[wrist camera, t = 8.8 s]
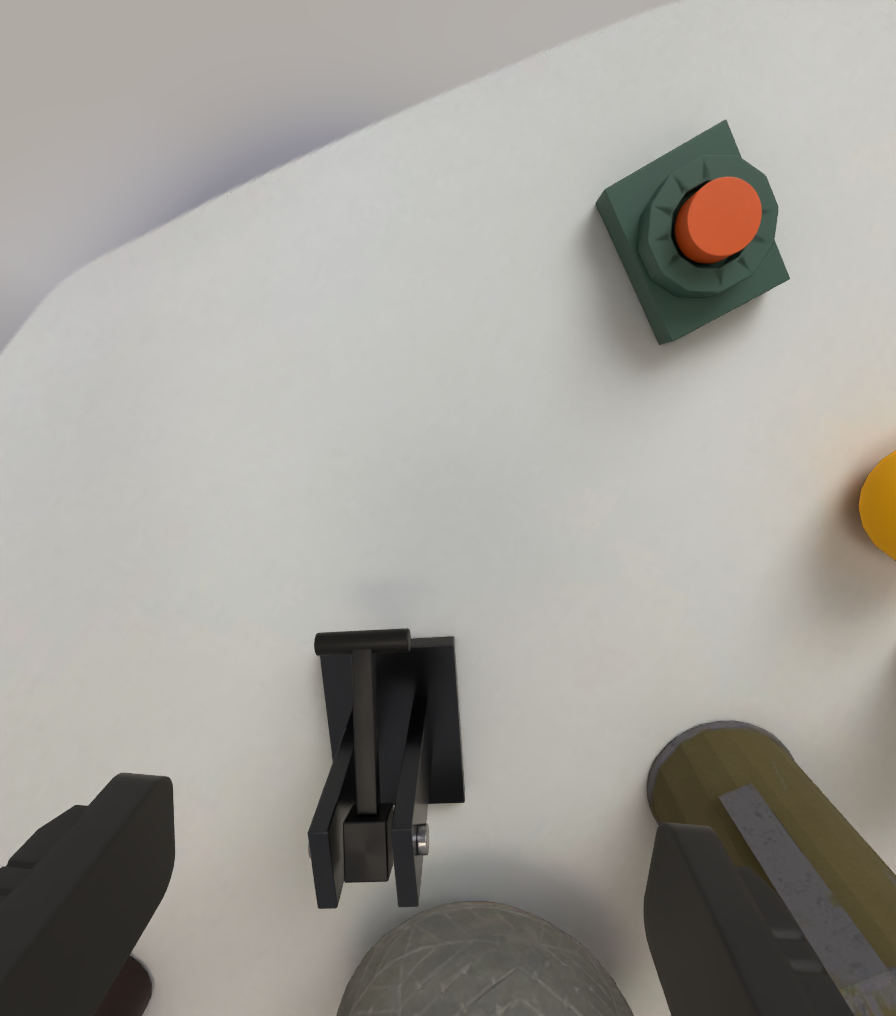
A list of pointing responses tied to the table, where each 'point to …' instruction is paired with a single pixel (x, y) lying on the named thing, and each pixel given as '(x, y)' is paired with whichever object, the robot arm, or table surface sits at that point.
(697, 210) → the button
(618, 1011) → the bowl
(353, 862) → the lever
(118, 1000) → the bottle
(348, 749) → the bracket
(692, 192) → the button box
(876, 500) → the orange
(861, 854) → the canister
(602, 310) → the table surface
